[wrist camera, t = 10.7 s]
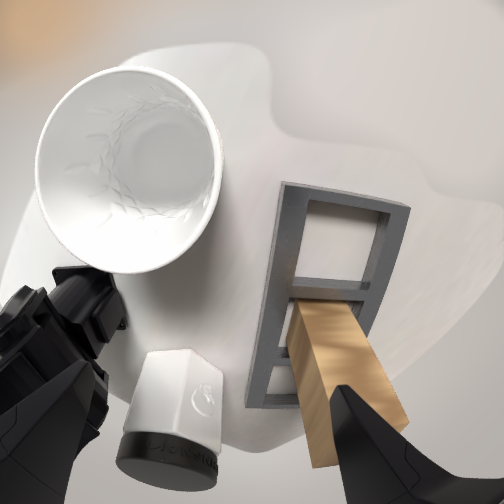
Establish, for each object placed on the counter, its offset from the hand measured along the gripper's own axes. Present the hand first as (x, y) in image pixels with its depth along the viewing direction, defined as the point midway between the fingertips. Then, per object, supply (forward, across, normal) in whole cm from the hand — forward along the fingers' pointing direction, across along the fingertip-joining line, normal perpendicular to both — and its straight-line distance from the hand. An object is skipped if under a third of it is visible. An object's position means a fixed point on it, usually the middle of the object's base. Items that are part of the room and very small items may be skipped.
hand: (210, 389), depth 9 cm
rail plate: (+13, -8, +6) cm, 17 cm away
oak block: (+13, -8, +6) cm, 17 cm away
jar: (+13, +4, +15) cm, 20 cm away
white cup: (+13, +4, -6) cm, 15 cm away
